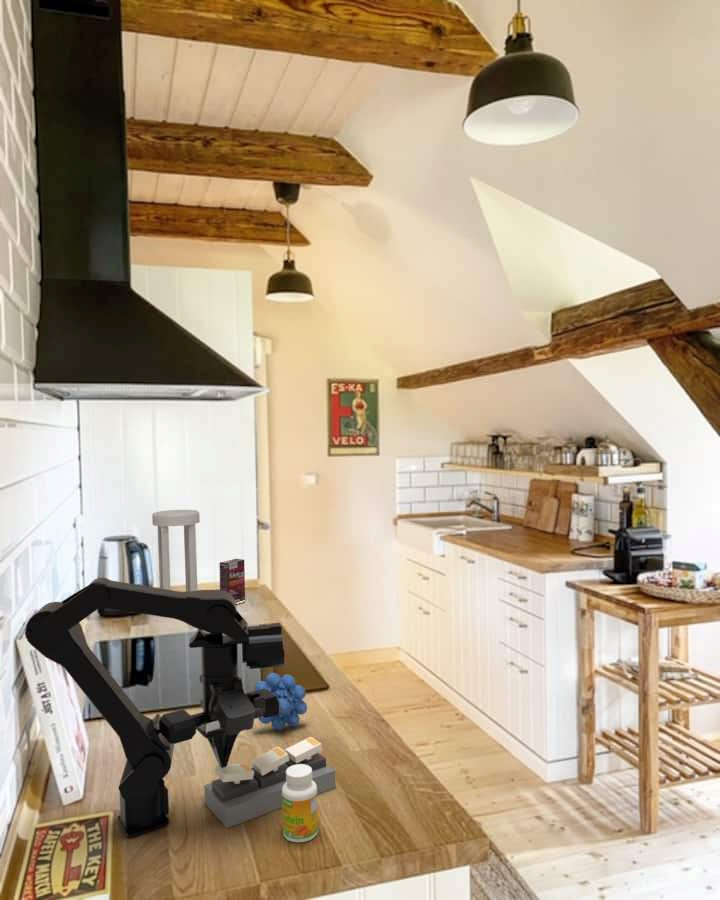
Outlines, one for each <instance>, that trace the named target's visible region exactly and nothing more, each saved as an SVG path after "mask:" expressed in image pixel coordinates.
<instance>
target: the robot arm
mask: <svg viewBox="0 0 720 900" xmlns="http://www.w3.org/2000/svg"><path fill="white" fill-rule="evenodd" d="M101 608H104V609H109V610H116V611H123V612H128V613H136V614H142V615H149V616H155V617H162V618H164V617H166V618H168V619H173V620H174V619H175V620H177V621H181V622H183V623H185V624H187V625H188V626H191V627H193V628H195V629H197V631H196V632H195V634H193V635H192V637H190V638H189V643H188V647H189V648H190V649H191V648H192V649H194V648H195V649H196V648H197V649H198V648H200V649H201V650H200V651H201V675H199V682H200V683H201V684H202V687H201V688H202V699H201V700H199V702H200V704H199V707H200V708H201V709H202V711H201V712H198V713H194V714H190V713H188V712H187V710H185V709H183V708H182V709H179V710H175V711H171V712H167V713H163V714H162V715H160V713H157V714H156V715H155V716H154V717H153V718H151V717H148V716H146V715H145V714H143V713H141V711H140V710H139V709H138V707H136V705H135V704H134V703H133V701H132V700H131V699H130V697H129V696H128V694H126V693H125V691H124V690H123V688H122V686H120V685H119V683H118V682H117V681H116V680H115V678H114V677H113V676H112V674H111V673H110V672H109V671H108V669H107V668H106V667H105V666H104V665H103V663H102V662H101V660H100V659H99V658H98V657H97V655H96V654H95V653H94V652H93V651H92V649H91V648H90V646H89V644H88V642H87V639H86V636H85V634H84V630H83V628H82V625H81V624H80V622H82V621H83V620H84V619H86V618H88V617H89V616H90V615H92V614H93V613H94V612H96V611H98V610H99V609H101ZM282 629H283V628H282V624H281V623H280V622H276V623H270V624H266V625H265V624H264V625H255V626H254V625H253V626H249V624H248V622H247V621H246V619H245V618H244V617H243V616H242V615H241V614H240V612H239V611H238V609H237V605H236V603H235V599H234V598H233V597H232V595H231V594H230V593H229V592H227V591H224V590H220V589H198V591H190V592H186V591H179V590H174V589H173V590H167V589H161V588H160V587H155V586H154V587H153V586H148V585H141V584H136V583H129V582H124V581H116V580H111V579H109V578H107V577H97V578H95V579H93V580H92V581H91V582H90V583H89V584H88V585H86V586H85V587H83V588H82V589H79V590H78V591H77V592H75V593H73V594H71V595H69V596H68V597H67V598H65V599H64V600H62V601H51V602H49V603H46V604H45V605H43V606H42V607H40V608H39V610H38V611H37V612H35V613H34V615H32V616H31V617H30V618H29V619H28V621H27V623H26V625H25V631H24V635H25V639H26V641H27V642H28V643H29V645H30V646H32V647H33V648H34V649H35V650H36V651H38V652H39V654H41V655H43V657H44V658H46V659H48V660H50V661H51V662H54V663H56V664H58V665H60V666H61V667H62V668H63V669H65V671H66V672H67V673H68V675H69V676H70V677H71V678H72V680H73V681H74V682H75V683H76V684H77V686H78V687H79V689H80V690H81V691H82V692H83V694H84V695H85V696H86V697H87V698H88V700H89V701H90V702H91V703H92V704H93V706H94V707H95V709H96V710H97V711H98V712H99V714H100V715H101V716H102V717H103V719H104V720H105V721H106V722H107V724H108V725H109V726H110V728H111V729H112V730H113V732H114V733H116V735H117V736H118V738H119V740H120V743H121V746H122V750H123V753H124V755H125V758H126V759H125V760H126V762H125V765H124V767H123V772H122V774H121V778H120V781H119V785H118V790H119V811H120V812H119V814H120V815H118V816H117V817H116V818H117V822H118V824H119V825H120V827H121V829H122V830H123V832H124V833H125V835H126V837H127V838H133V837H136V836H139V835H141V834H145V833H147V832H148V833H149V832H150V831H153V830H154V831H155V830H157V829H160V828H161V827H165V826H168V825H169V824H170V822H171V821H170V819H169V817H168V815H169V813H170V809H169V808H170V806H169V804H170V803H169V789H168V788H167V786H166V785H165V782H166V781H165V780H164V778H165V777H166V776H167V775H168V774H169V772H170V770H171V768H172V761H173V755H174V750H175V744H179V743H183V742H186V741H189V740H192V739H193V738H194V737H195V735H196V734H197V732H199V733H200V735H202V737H204V738H205V739H207V741H208V743H209V745H210V747H211V750H212V752H213V754H214V757H215V759H216V761H217V764H218V765H219V766H220V767H221V768H225V767H227V765H229V760H230V757H231V754H232V750H233V747H234V744H235V742H236V740H237V737H238V735H239V734H240V733H241V732H243V731H250V730H252V729H253V728H254V724H255V723H254V722H255V720H257V719H258V718H260V717H262V716H263V717H264V718H268V717H271V716H275V715H278V714H280V701H279V698H278V697H276V696H275V695H273V694H272V693H270V692H269V691H267V690H266V689H260V690H257V691H255V690H253V691H250V692H246V693H245V689H244V687H243V685H244V684H243V681H242V680H243V679H242V678H241V677H239V656H238V655H239V654H238V653H239V651H238V650H239V649H238V645H241V662H242V664H246V667H248V668H249V670H255V669H256V670H257V669H265V668H269V669H270V668H278V667H285V647H284V643H283V642H284V641H283V631H282Z"/></svg>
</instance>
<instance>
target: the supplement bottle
mask: <svg viewBox="0 0 720 900" xmlns="http://www.w3.org/2000/svg"><path fill="white" fill-rule="evenodd" d="M286 781H287V782H286V783H285V784H284V785H283V788H282V808H281V809H282V813H281V814H282V834H283V837H284V838H285V840H287V841H289V842H291V843H292V842H293V843H305V842H308V841H311V840H312V839H314V838H315V837H316V836H317V834H318V832H319V807H318V794H317V786H316V783H315V782H314V781H313V780H312V768H311V767H310V766H308V765H305V764H296V765H292V766H290V767H289V768H287V770H286Z"/></svg>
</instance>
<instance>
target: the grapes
mask: <svg viewBox="0 0 720 900" xmlns="http://www.w3.org/2000/svg"><path fill="white" fill-rule="evenodd" d="M253 689H254V691H257V690H260V689H266V690H267V691H269V692H270V693H272V694H273V695H275V696H276V697H278V698H279V701H280V714H278V715H275V716H271V717H268V718H264V717H263V716H262V717H260V718H257V719H258V721H259V722H260V723H262V724H265V725H268V724H271V726H272V727H273V729H275V731H276V730H277V731H282V730H284V729H285V728H286V725H288V726H289V727H296V726H298V724H299V723H300V716H302V715H304V714H305V713H307V711H308V706H307V703H306V702H305V701H304V699H305V698H306V693H307V692H306V690H305V688H304V687H303V686H302V685H297V684H296V680H295V678H294V676H292V675H291V674H284V675H283V676H280V675H279V674H278V673H275V672H270V673H268V674H267V675H266V680H265V681H264V680H259V681H257V682H256V683H255V684H254V688H253ZM299 715H300V716H299Z"/></svg>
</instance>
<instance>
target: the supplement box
mask: <svg viewBox="0 0 720 900" xmlns="http://www.w3.org/2000/svg"><path fill="white" fill-rule="evenodd" d="M245 571H246V570H245V559H241V558H233V559H229V560H225V561H220V562H219V590H224V591H227V592H229V593H230V594H231V595H232V597H233V598H234V599H235V603H237V602H240V601H243V600H245V601H246V584H245V583H246V579H245V578H246V577H245V575H246V574H245Z"/></svg>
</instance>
